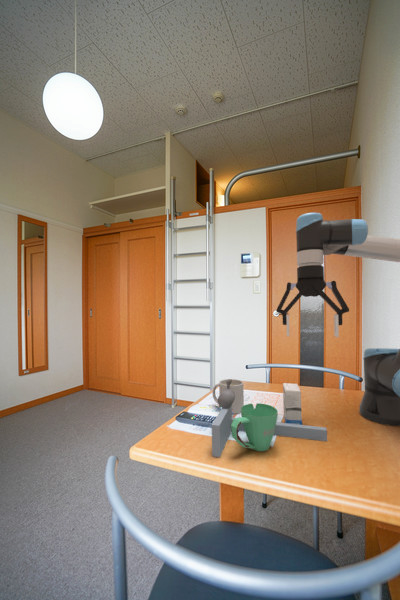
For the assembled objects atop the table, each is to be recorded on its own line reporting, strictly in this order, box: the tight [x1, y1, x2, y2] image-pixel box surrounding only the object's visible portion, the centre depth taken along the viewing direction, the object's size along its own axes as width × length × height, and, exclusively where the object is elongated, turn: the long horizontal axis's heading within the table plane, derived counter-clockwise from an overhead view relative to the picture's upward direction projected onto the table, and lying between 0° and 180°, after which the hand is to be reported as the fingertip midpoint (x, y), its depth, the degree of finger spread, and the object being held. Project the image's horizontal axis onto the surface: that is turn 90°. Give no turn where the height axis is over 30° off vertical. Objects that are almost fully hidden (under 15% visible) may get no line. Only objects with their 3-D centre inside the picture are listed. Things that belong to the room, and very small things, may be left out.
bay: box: [211, 378, 328, 458], centre depth 76 cm, size 30×20×14 cm, turn 73°
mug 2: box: [231, 402, 278, 452], centre depth 73 cm, size 15×10×10 cm
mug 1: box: [211, 378, 245, 415], centre depth 103 cm, size 11×10×10 cm
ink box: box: [282, 382, 303, 425], centre depth 89 cm, size 9×5×12 cm, turn 168°
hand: (311, 336), depth 83 cm, fingers open, 13 cm apart
